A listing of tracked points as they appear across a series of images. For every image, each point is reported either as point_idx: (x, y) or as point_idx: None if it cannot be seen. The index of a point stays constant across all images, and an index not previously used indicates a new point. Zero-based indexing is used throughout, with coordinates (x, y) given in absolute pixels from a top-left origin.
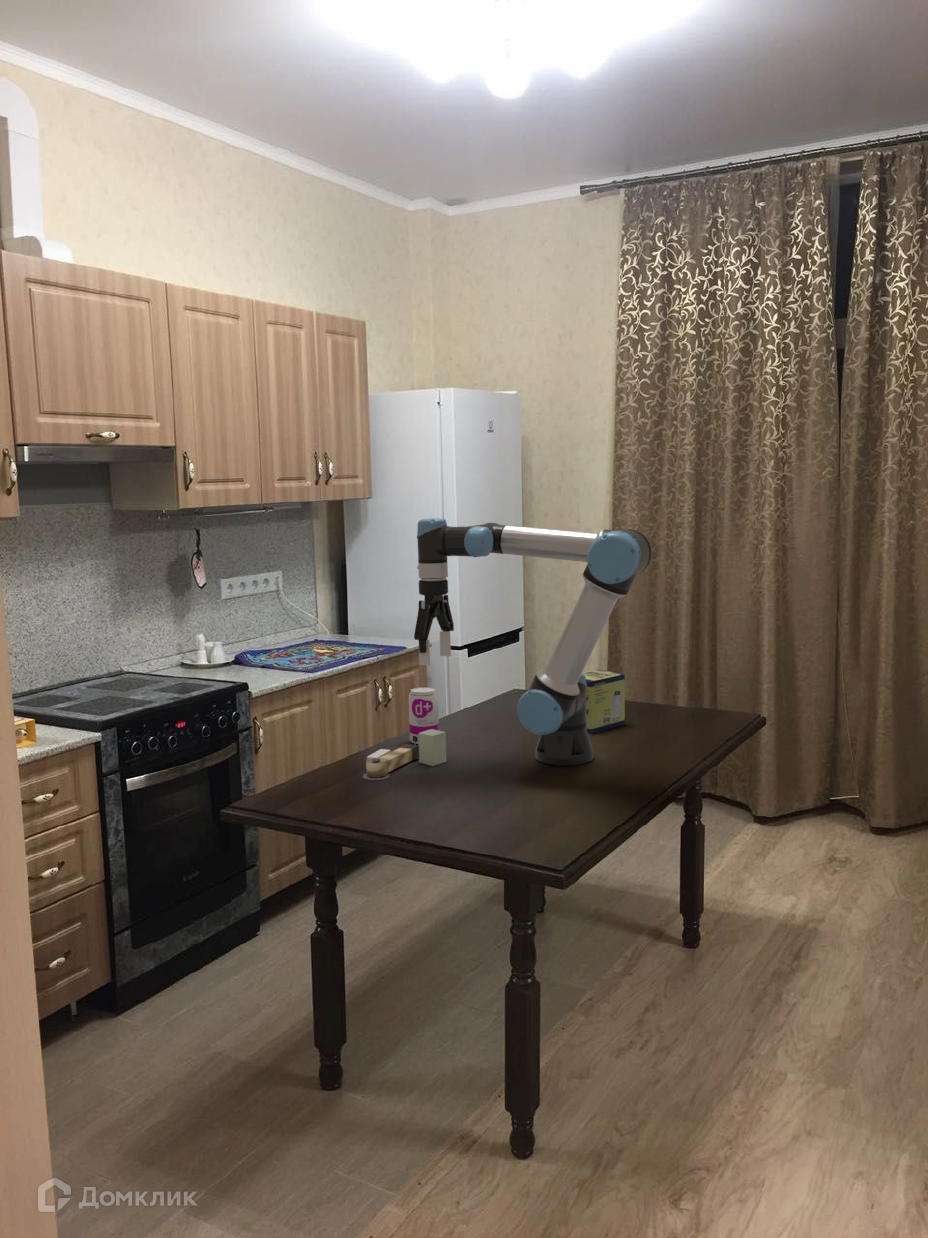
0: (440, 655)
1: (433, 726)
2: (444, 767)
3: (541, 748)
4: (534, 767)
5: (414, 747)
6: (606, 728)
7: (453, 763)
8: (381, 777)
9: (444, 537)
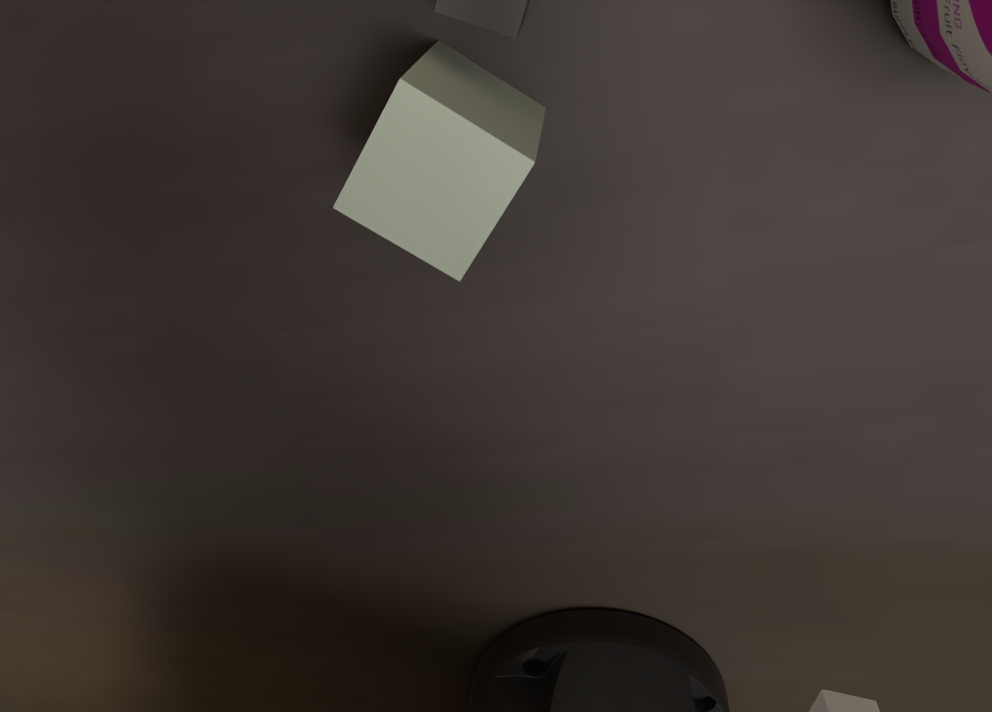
0: (823, 696)
1: (961, 72)
2: None
3: (551, 672)
4: (438, 605)
5: (455, 11)
6: None
7: None
8: None
9: None
